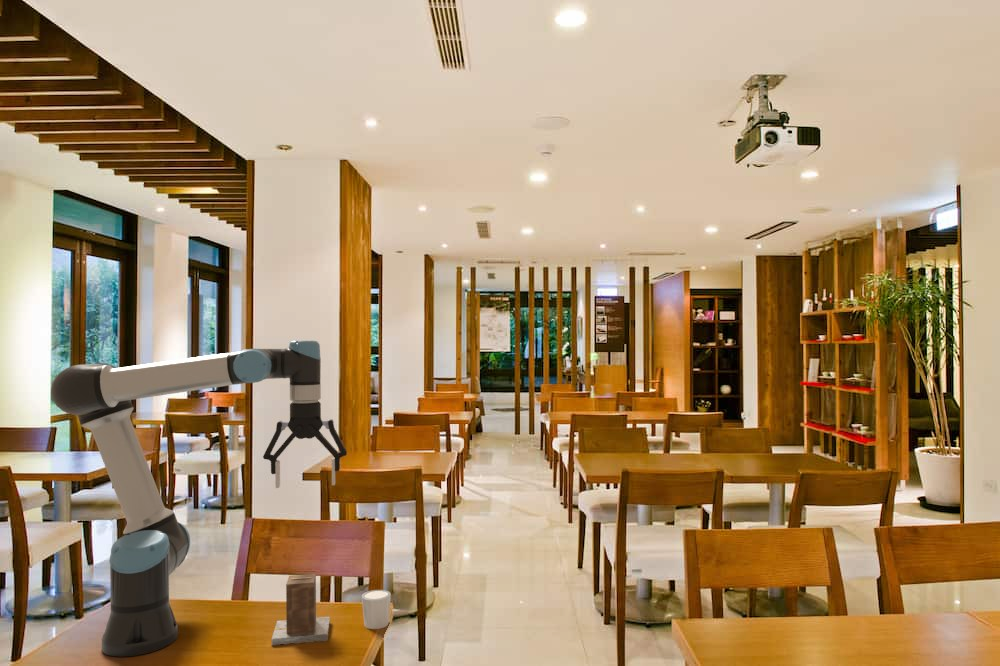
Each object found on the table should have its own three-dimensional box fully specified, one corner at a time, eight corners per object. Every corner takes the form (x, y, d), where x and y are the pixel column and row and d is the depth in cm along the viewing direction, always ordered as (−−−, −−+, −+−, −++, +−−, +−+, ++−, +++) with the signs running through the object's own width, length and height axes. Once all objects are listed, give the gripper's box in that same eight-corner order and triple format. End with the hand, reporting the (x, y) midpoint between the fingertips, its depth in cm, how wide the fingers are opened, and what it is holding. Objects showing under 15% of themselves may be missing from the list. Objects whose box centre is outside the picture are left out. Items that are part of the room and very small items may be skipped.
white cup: (384, 631, 159) (384, 600, 159) (357, 629, 160) (356, 598, 160) (395, 619, 165) (395, 590, 166) (368, 617, 167) (368, 588, 167)
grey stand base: (271, 645, 152) (271, 616, 152) (277, 627, 161) (277, 599, 162) (327, 640, 154) (327, 611, 154) (329, 622, 164) (329, 595, 164)
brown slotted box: (286, 633, 154) (286, 583, 154) (289, 623, 160) (289, 574, 160) (314, 631, 155) (313, 581, 156) (316, 620, 161) (315, 572, 161)
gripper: (355, 398, 180) (356, 480, 180) (255, 401, 175) (256, 484, 175) (355, 401, 173) (356, 486, 172) (251, 404, 168) (251, 491, 167)
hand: (305, 485), depth 174 cm, fingers open, 13 cm apart
